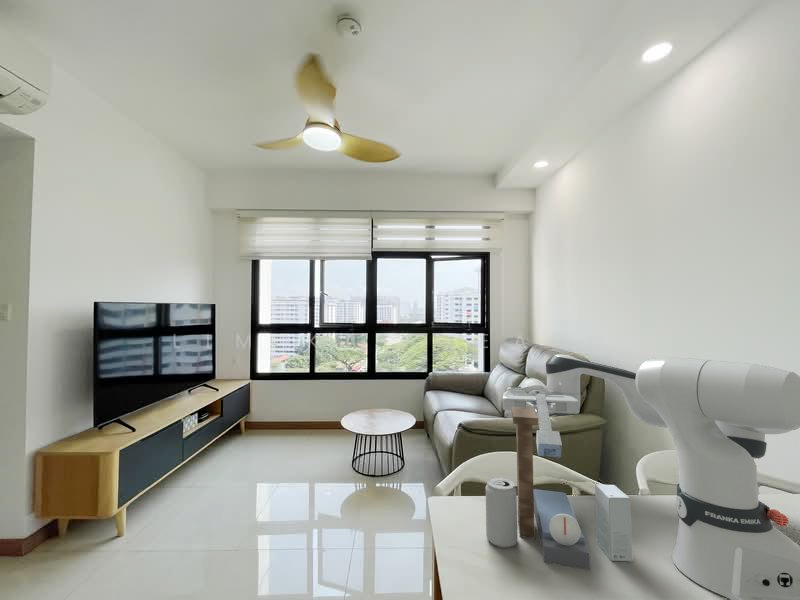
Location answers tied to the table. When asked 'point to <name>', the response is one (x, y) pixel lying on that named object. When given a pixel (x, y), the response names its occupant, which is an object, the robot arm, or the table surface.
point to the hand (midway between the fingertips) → (542, 410)
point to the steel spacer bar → (546, 431)
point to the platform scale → (559, 530)
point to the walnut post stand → (525, 468)
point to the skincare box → (613, 522)
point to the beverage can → (501, 512)
